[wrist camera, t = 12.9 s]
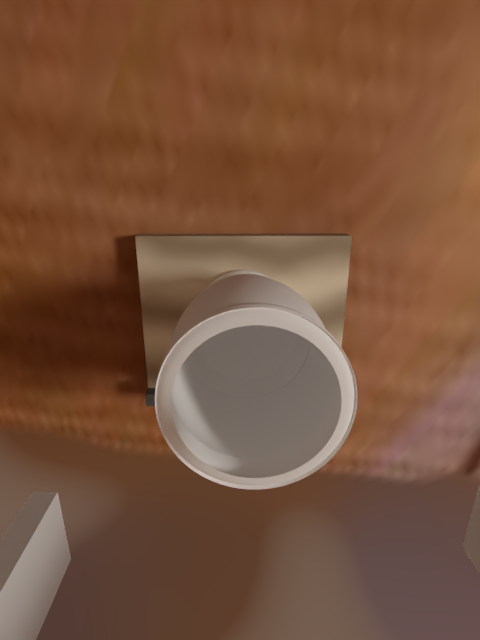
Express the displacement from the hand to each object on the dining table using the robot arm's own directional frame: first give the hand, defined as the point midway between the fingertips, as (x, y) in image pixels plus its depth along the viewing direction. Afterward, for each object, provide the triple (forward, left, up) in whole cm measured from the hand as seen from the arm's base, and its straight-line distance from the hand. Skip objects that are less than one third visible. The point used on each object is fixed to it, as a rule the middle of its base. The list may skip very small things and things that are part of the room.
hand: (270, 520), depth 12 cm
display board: (0, 0, -24) cm, 24 cm away
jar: (0, 0, -22) cm, 22 cm away
